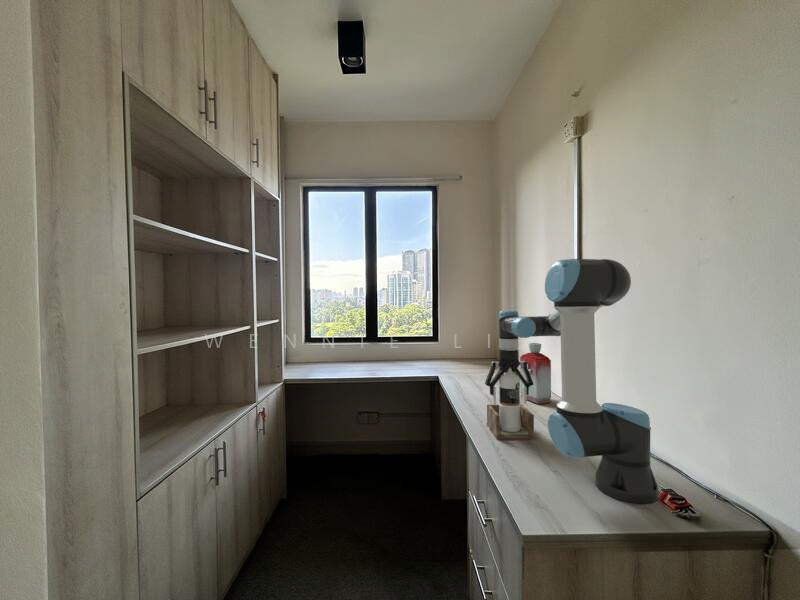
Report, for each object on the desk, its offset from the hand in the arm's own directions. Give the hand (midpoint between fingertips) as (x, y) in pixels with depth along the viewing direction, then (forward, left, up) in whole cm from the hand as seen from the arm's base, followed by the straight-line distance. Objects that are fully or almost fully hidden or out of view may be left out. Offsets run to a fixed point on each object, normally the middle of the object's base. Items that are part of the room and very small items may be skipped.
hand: (509, 402), depth 149 cm
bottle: (+44, -27, -12) cm, 53 cm away
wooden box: (0, 0, -12) cm, 12 cm away
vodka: (0, 0, -11) cm, 11 cm away
